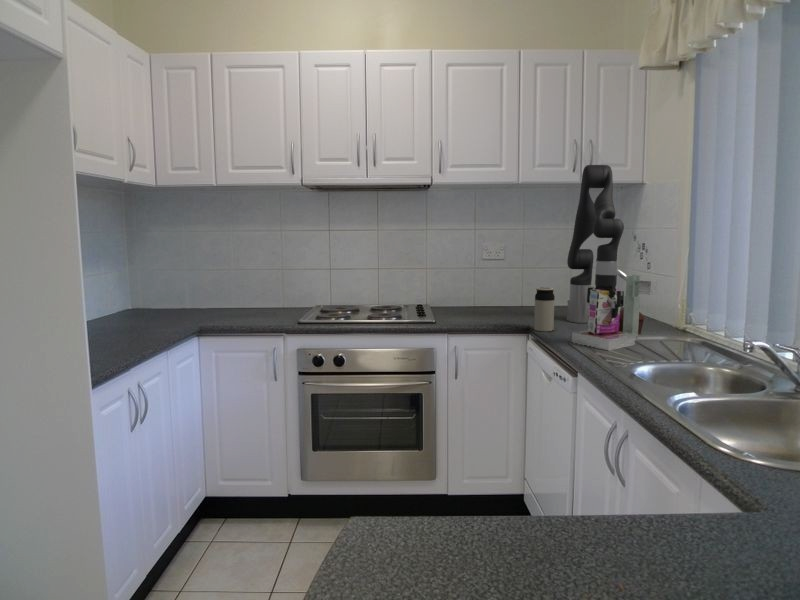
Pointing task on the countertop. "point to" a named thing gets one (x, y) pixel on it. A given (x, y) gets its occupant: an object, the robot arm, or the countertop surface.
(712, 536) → the countertop surface
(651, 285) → the press lever
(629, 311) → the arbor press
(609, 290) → the robot arm
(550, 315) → the travel mug
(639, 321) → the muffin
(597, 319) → the candy bar box
